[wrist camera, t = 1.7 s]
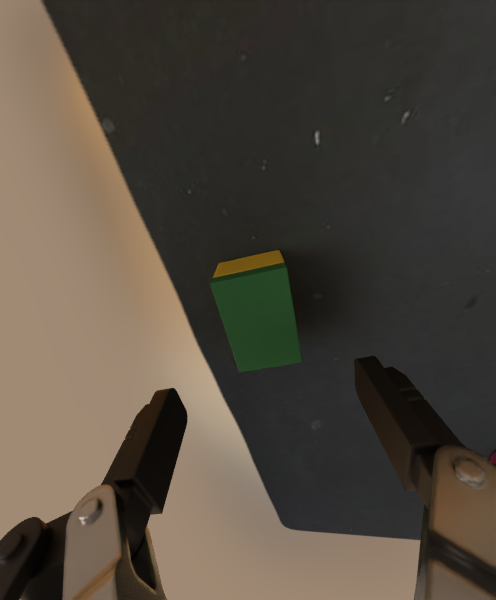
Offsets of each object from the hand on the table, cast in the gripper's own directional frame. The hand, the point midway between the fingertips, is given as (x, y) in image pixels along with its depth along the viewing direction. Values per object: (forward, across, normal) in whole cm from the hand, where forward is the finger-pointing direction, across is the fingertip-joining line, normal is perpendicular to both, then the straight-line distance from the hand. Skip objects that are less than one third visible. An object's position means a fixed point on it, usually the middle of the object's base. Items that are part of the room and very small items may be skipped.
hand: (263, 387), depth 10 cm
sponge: (+9, 0, 0) cm, 9 cm away
